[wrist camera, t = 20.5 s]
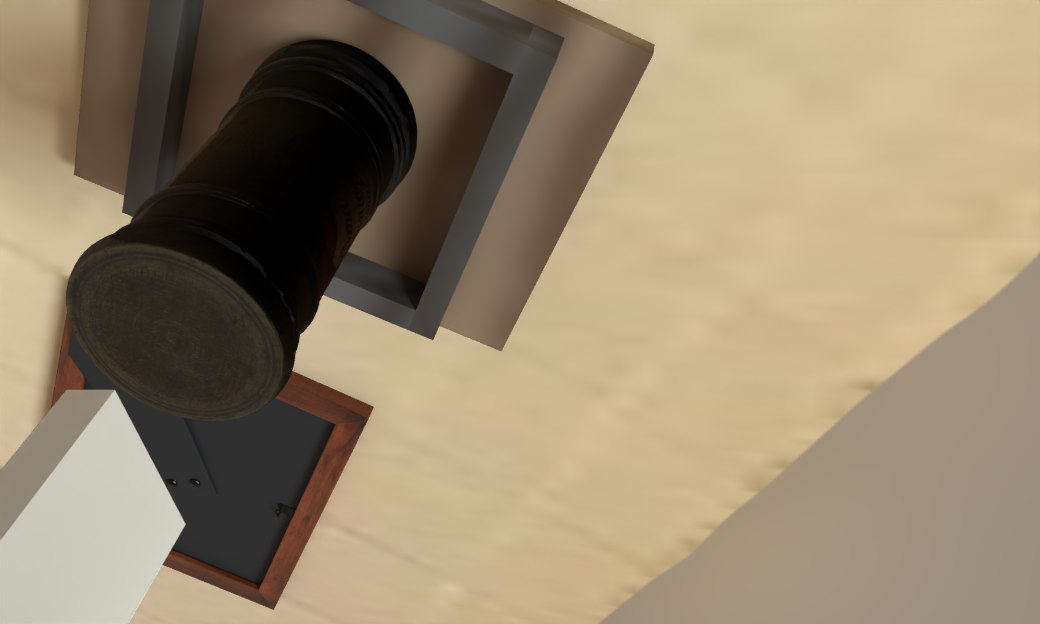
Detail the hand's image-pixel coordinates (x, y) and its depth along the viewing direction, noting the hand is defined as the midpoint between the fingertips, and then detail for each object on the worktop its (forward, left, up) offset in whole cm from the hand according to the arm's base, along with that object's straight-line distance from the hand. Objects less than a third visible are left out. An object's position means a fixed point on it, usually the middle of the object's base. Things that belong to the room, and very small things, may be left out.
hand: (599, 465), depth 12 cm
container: (+18, +10, -34) cm, 39 cm away
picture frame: (+37, +36, -36) cm, 62 cm away
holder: (+18, +10, -35) cm, 40 cm away
